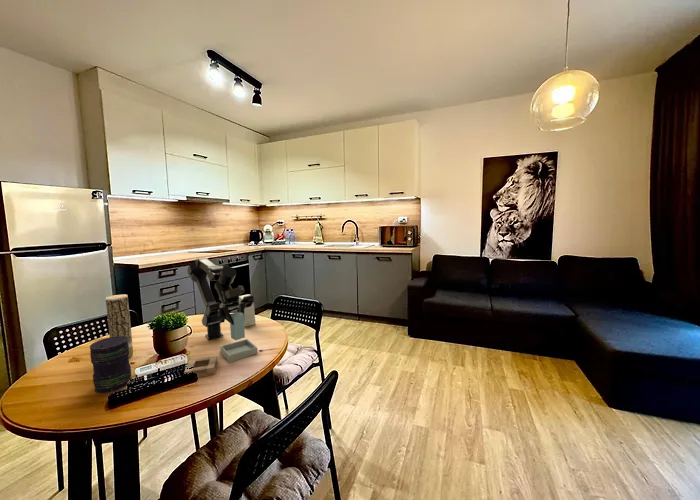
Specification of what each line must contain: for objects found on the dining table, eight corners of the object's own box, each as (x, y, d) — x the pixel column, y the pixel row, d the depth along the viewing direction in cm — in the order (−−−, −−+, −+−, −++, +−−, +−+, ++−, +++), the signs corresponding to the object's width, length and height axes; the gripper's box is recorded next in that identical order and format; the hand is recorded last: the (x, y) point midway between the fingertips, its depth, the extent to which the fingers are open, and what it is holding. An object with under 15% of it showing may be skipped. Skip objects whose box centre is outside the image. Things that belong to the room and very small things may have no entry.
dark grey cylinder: (112, 376, 102) (107, 336, 100) (139, 376, 102) (135, 336, 100) (85, 393, 92) (80, 348, 91) (115, 394, 92) (110, 349, 90)
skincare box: (255, 324, 151) (254, 296, 149) (243, 327, 147) (242, 298, 146) (251, 320, 158) (250, 293, 156) (239, 322, 154) (238, 295, 153)
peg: (230, 337, 118) (229, 314, 117) (240, 334, 121) (239, 311, 120) (235, 340, 116) (234, 316, 114) (244, 337, 118) (243, 313, 117)
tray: (220, 352, 120) (220, 346, 120) (247, 344, 127) (247, 338, 127) (229, 362, 111) (228, 355, 111) (257, 353, 118) (257, 347, 118)
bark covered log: (135, 356, 117) (129, 296, 114) (113, 363, 112) (106, 300, 109) (131, 351, 121) (125, 293, 119) (110, 357, 116) (104, 296, 114)
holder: (190, 365, 109) (190, 359, 109) (217, 361, 112) (217, 355, 111) (184, 379, 100) (183, 372, 100) (214, 374, 103) (213, 367, 102)
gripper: (206, 284, 112) (220, 318, 105) (251, 276, 125) (266, 306, 119) (200, 300, 118) (212, 333, 112) (244, 291, 132) (257, 320, 125)
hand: (238, 322), depth 117 cm, fingers closed on peg, 4 cm apart
